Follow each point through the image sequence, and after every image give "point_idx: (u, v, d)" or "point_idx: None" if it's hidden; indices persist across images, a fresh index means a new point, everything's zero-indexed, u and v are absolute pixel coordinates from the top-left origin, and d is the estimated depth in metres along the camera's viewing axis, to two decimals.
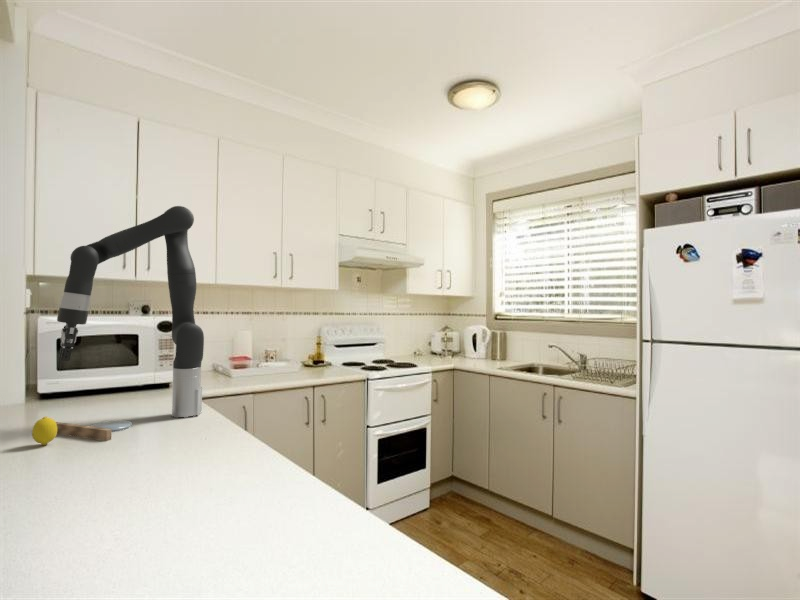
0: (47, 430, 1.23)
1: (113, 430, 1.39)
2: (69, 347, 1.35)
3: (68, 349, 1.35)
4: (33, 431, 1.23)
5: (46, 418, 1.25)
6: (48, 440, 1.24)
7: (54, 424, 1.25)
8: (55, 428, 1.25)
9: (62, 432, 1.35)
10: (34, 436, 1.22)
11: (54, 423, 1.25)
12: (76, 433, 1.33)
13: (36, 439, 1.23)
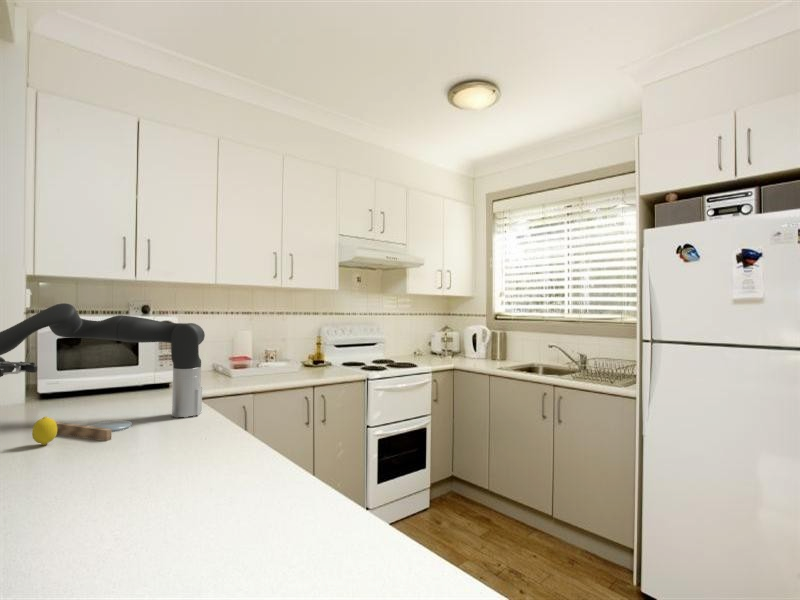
0: (47, 430, 1.23)
1: (113, 430, 1.39)
2: None
3: None
4: (33, 431, 1.23)
5: (46, 418, 1.25)
6: (48, 440, 1.24)
7: (54, 424, 1.25)
8: (55, 428, 1.25)
9: (62, 432, 1.35)
10: (34, 436, 1.22)
11: (54, 423, 1.25)
12: (76, 433, 1.33)
13: (36, 439, 1.23)
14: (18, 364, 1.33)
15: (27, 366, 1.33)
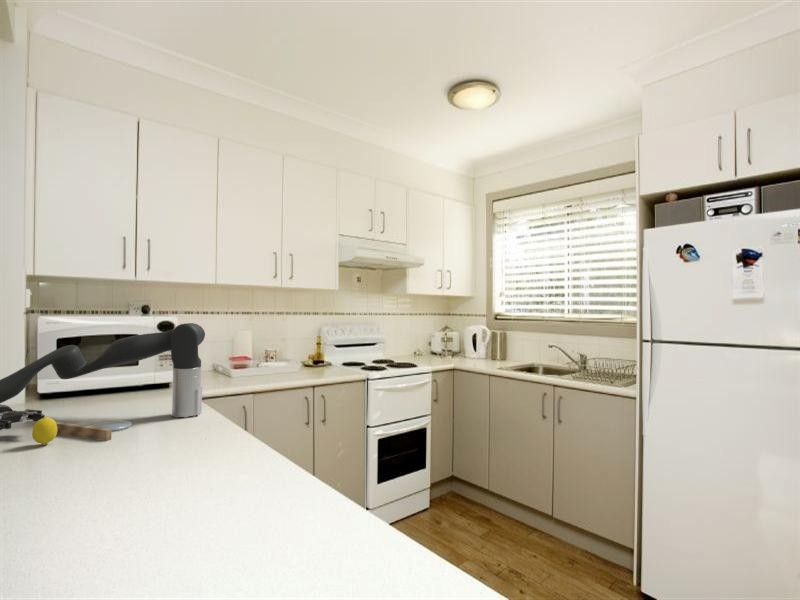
0: (47, 430, 1.23)
1: (113, 430, 1.39)
2: None
3: None
4: (33, 431, 1.23)
5: (46, 418, 1.25)
6: (48, 440, 1.24)
7: (54, 424, 1.25)
8: (55, 428, 1.25)
9: (62, 432, 1.35)
10: (34, 436, 1.22)
11: (54, 423, 1.25)
12: (76, 433, 1.33)
13: (36, 439, 1.23)
14: (25, 413, 1.32)
15: (34, 415, 1.32)
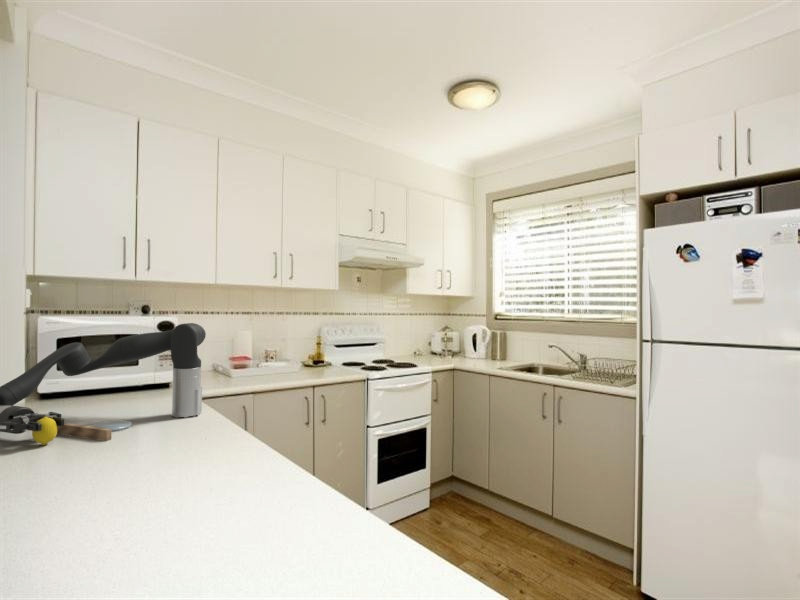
0: (47, 430, 1.23)
1: (113, 430, 1.39)
2: (21, 426, 1.21)
3: (26, 426, 1.21)
4: (33, 431, 1.23)
5: (46, 418, 1.25)
6: (48, 440, 1.24)
7: (54, 424, 1.25)
8: (55, 428, 1.25)
9: (62, 432, 1.35)
10: (34, 436, 1.22)
11: (54, 423, 1.25)
12: (76, 433, 1.33)
13: (36, 439, 1.23)
14: None
15: (54, 419, 1.28)
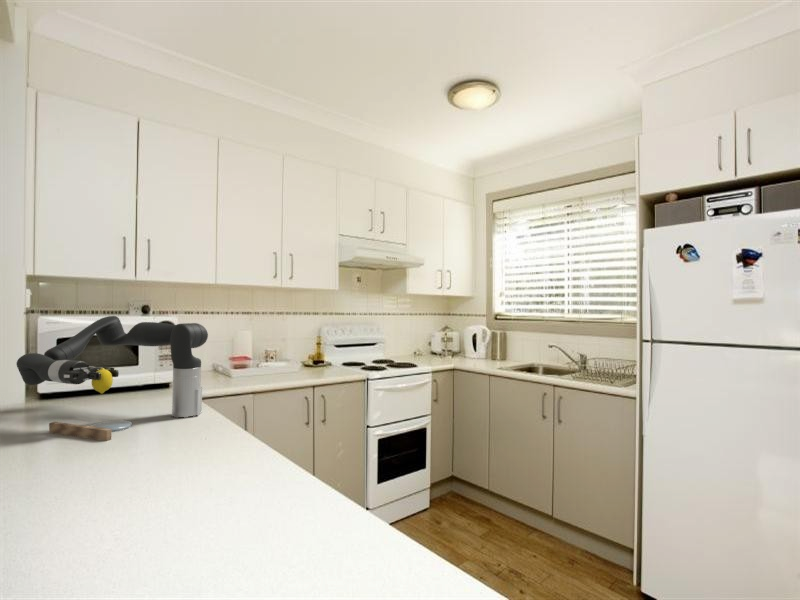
0: (105, 380, 1.39)
1: (113, 430, 1.39)
2: (83, 375, 1.36)
3: (87, 375, 1.37)
4: (93, 380, 1.38)
5: (103, 369, 1.40)
6: (105, 389, 1.39)
7: (110, 375, 1.41)
8: (111, 378, 1.41)
9: (62, 432, 1.35)
10: (94, 384, 1.38)
11: (110, 374, 1.41)
12: (76, 433, 1.33)
13: (95, 387, 1.38)
14: None
15: (109, 371, 1.43)
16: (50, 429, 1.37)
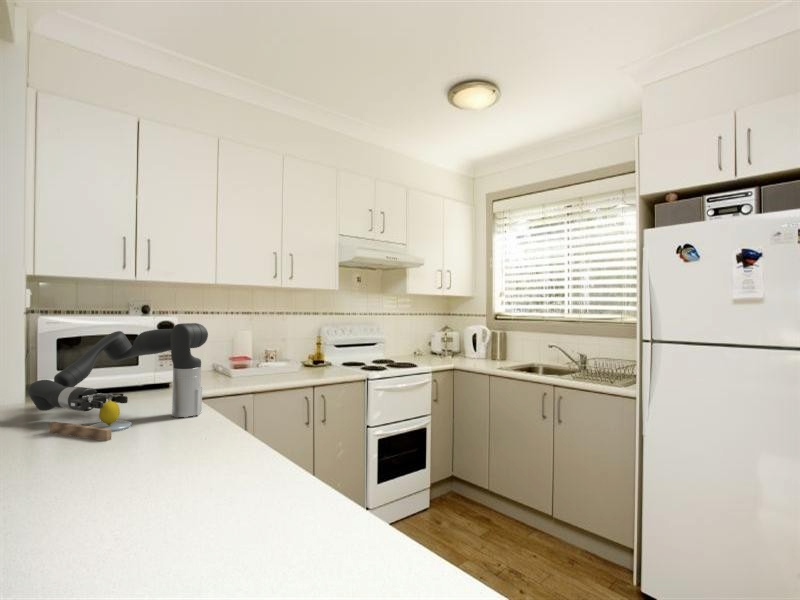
0: (112, 412, 1.42)
1: (113, 430, 1.39)
2: (85, 404, 1.38)
3: (90, 404, 1.39)
4: (100, 413, 1.41)
5: (110, 401, 1.43)
6: (113, 420, 1.43)
7: (117, 407, 1.44)
8: (118, 410, 1.44)
9: (62, 432, 1.35)
10: (101, 417, 1.41)
11: (117, 406, 1.44)
12: (76, 433, 1.33)
13: (103, 419, 1.41)
14: (110, 396, 1.48)
15: (119, 397, 1.48)
16: (50, 429, 1.37)
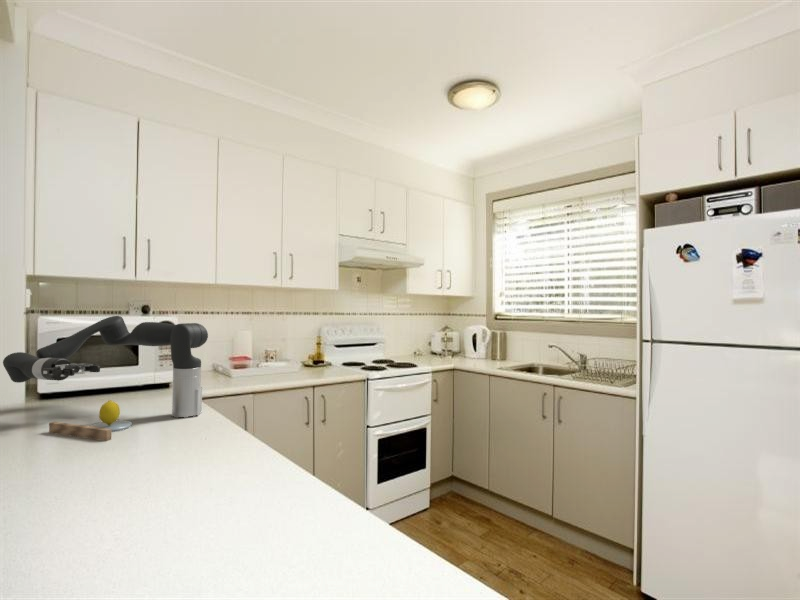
0: (112, 412, 1.42)
1: (113, 430, 1.39)
2: (57, 371, 1.43)
3: (61, 371, 1.43)
4: (100, 413, 1.41)
5: (111, 401, 1.43)
6: (113, 420, 1.43)
7: (117, 407, 1.44)
8: (118, 410, 1.44)
9: (62, 432, 1.35)
10: (101, 417, 1.41)
11: (117, 406, 1.44)
12: (76, 433, 1.33)
13: (103, 419, 1.41)
14: (83, 365, 1.52)
15: (91, 367, 1.52)
16: (50, 429, 1.37)
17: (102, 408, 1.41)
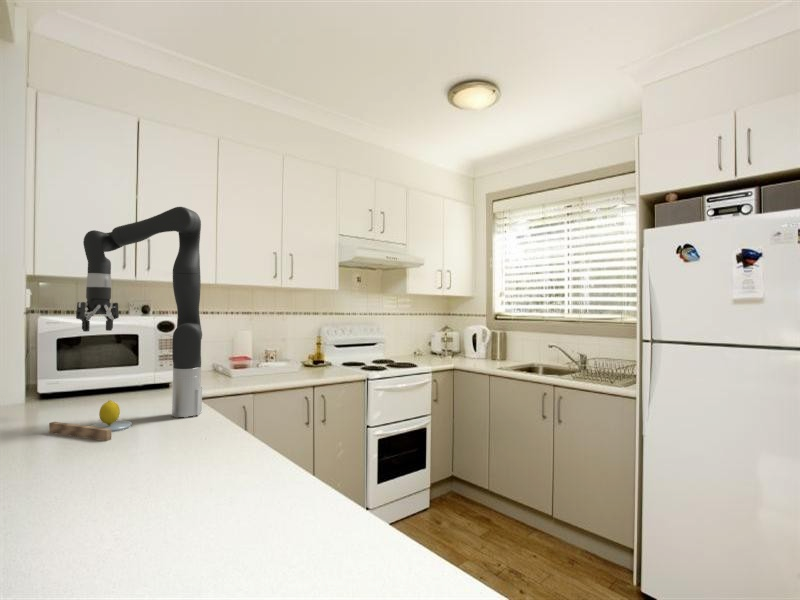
0: (113, 412, 1.42)
1: (113, 430, 1.39)
2: (81, 319, 1.56)
3: (83, 321, 1.57)
4: (100, 413, 1.41)
5: (111, 401, 1.43)
6: (113, 420, 1.43)
7: (117, 407, 1.44)
8: (118, 410, 1.44)
9: (62, 432, 1.35)
10: (101, 417, 1.41)
11: (117, 406, 1.44)
12: (76, 433, 1.33)
13: (103, 419, 1.41)
14: (108, 315, 1.64)
15: (109, 322, 1.65)
16: (50, 429, 1.37)
17: (102, 408, 1.41)
